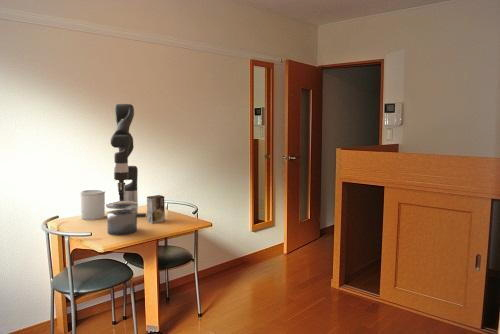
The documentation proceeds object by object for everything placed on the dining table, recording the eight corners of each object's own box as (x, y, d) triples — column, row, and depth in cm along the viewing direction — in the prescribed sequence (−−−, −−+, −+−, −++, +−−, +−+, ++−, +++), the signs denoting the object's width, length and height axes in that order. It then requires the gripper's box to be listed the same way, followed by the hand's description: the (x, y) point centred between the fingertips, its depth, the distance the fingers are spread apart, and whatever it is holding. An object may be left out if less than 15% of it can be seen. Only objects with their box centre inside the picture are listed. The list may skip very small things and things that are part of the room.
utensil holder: (108, 218, 252) (107, 191, 250) (83, 221, 244) (82, 193, 242) (102, 213, 264) (101, 188, 262) (78, 216, 256) (78, 190, 254)
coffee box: (159, 219, 252) (159, 194, 250) (165, 221, 248) (164, 196, 246) (146, 221, 246) (146, 196, 244) (152, 223, 241) (151, 197, 239)
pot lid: (107, 209, 228) (107, 205, 228) (138, 208, 232) (138, 204, 233) (104, 203, 211) (104, 198, 212) (137, 202, 216) (137, 197, 217)
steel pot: (108, 228, 228) (108, 209, 227) (146, 226, 234) (145, 208, 232) (106, 236, 213) (105, 216, 212) (146, 234, 218) (146, 214, 217)
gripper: (115, 170, 222) (115, 200, 224) (113, 172, 209) (113, 204, 211) (128, 169, 224) (129, 199, 226) (127, 172, 211) (128, 203, 213)
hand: (121, 202), depth 218 cm, fingers closed
